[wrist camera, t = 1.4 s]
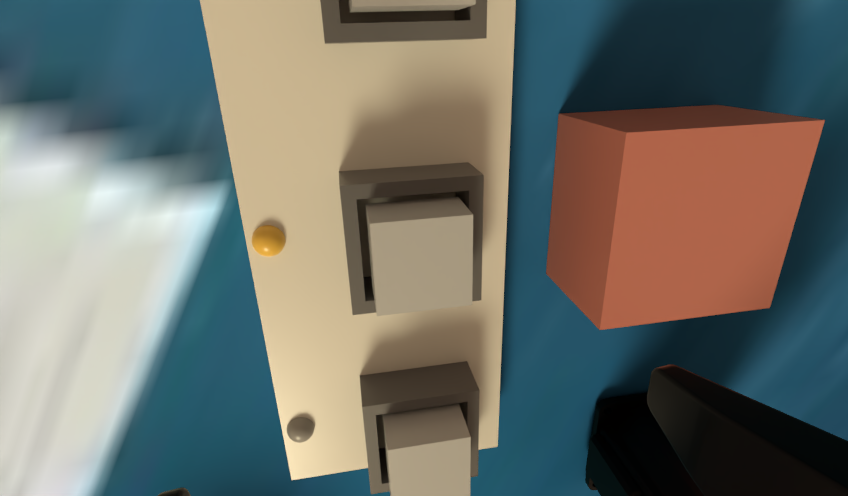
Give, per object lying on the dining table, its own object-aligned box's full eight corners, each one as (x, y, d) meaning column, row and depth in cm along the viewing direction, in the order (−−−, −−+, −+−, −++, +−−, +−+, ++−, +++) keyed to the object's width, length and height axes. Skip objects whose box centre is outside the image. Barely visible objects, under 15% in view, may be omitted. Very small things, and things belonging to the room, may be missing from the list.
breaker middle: (457, 196, 16) (473, 214, 15) (457, 279, 18) (472, 304, 16) (365, 203, 16) (369, 223, 14) (372, 287, 17) (377, 316, 15)
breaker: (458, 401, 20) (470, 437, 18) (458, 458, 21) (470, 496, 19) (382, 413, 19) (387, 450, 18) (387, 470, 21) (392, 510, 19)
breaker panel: (500, -135, 16) (549, -189, 12) (485, 418, 25) (511, 479, 22) (188, -143, 15) (139, -207, 11) (294, 447, 24) (287, 518, 20)
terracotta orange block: (717, 104, 21) (824, 120, 16) (686, 258, 24) (770, 307, 19) (558, 113, 20) (626, 132, 15) (546, 273, 23) (599, 329, 18)
